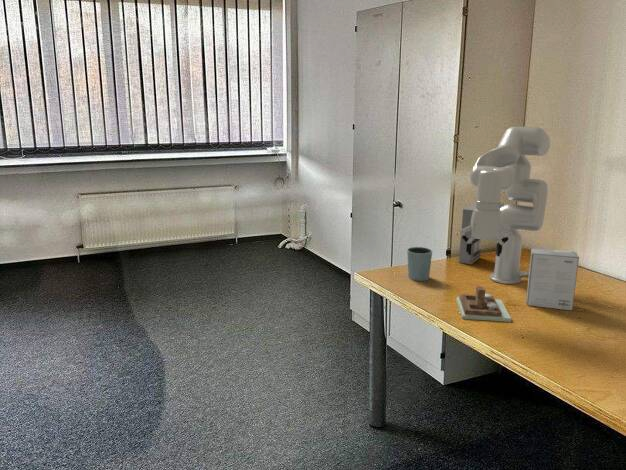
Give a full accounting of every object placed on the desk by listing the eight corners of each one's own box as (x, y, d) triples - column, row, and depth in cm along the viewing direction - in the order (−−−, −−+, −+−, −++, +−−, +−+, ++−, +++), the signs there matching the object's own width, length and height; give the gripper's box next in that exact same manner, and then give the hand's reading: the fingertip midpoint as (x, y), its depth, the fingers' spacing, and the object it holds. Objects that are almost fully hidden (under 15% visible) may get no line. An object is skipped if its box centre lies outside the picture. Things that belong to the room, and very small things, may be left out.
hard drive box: (570, 304, 202) (577, 251, 197) (572, 311, 195) (580, 257, 190) (525, 298, 207) (531, 247, 202) (526, 305, 200) (532, 252, 195)
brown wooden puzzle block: (492, 299, 202) (494, 281, 200) (501, 316, 186) (503, 297, 185) (459, 297, 203) (460, 280, 202) (464, 314, 188) (466, 295, 186)
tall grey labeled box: (471, 265, 248) (476, 210, 242) (458, 262, 251) (462, 209, 245) (480, 258, 259) (485, 205, 253) (468, 255, 262) (472, 204, 256)
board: (500, 302, 203) (501, 292, 202) (510, 321, 185) (512, 310, 184) (456, 299, 205) (457, 289, 204) (462, 318, 187) (463, 307, 186)
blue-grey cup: (432, 281, 224) (434, 253, 221) (407, 281, 225) (409, 253, 222) (427, 274, 234) (429, 246, 231) (404, 273, 234) (405, 246, 231)
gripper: (511, 205, 189) (506, 252, 193) (460, 203, 191) (456, 250, 195) (516, 209, 182) (511, 259, 186) (463, 207, 184) (459, 256, 188)
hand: (483, 254), depth 191 cm, fingers open, 9 cm apart
